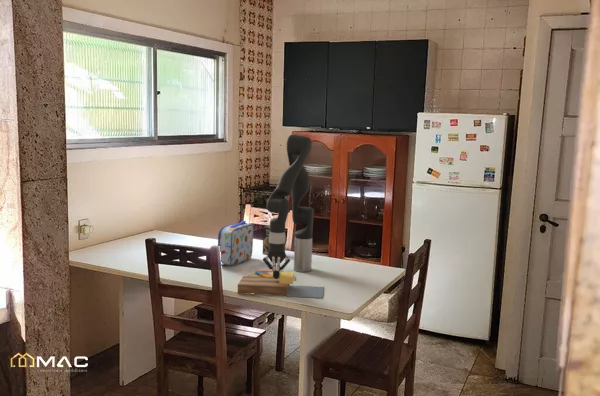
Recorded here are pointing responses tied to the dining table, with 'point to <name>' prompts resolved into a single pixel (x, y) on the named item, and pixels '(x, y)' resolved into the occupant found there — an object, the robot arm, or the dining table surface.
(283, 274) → the ochre tile
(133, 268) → the dining table surface
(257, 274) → the wooden puzzle
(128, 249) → the dining table surface
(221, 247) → the lunch box
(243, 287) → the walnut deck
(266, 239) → the coffee box
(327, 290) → the dining table surface
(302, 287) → the slate mat
